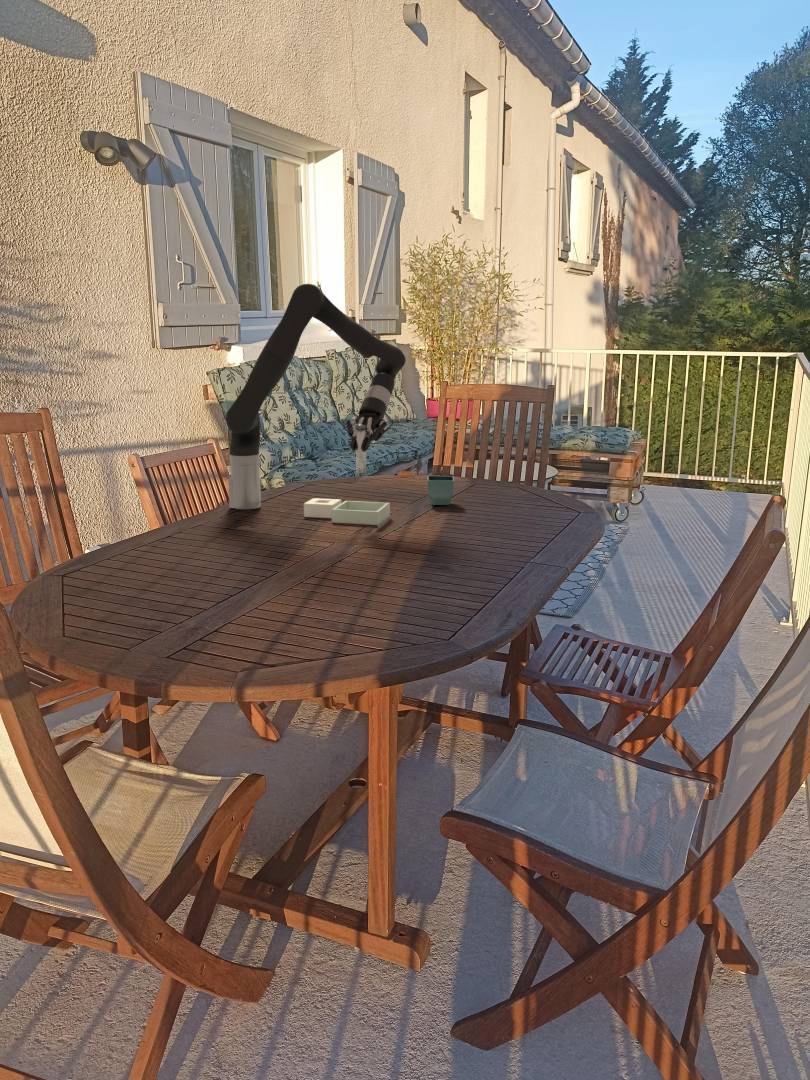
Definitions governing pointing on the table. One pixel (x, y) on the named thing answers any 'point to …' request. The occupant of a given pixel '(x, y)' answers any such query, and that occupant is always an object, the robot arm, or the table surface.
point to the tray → (361, 513)
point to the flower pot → (440, 489)
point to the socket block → (320, 507)
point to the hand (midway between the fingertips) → (358, 449)
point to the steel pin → (359, 453)
